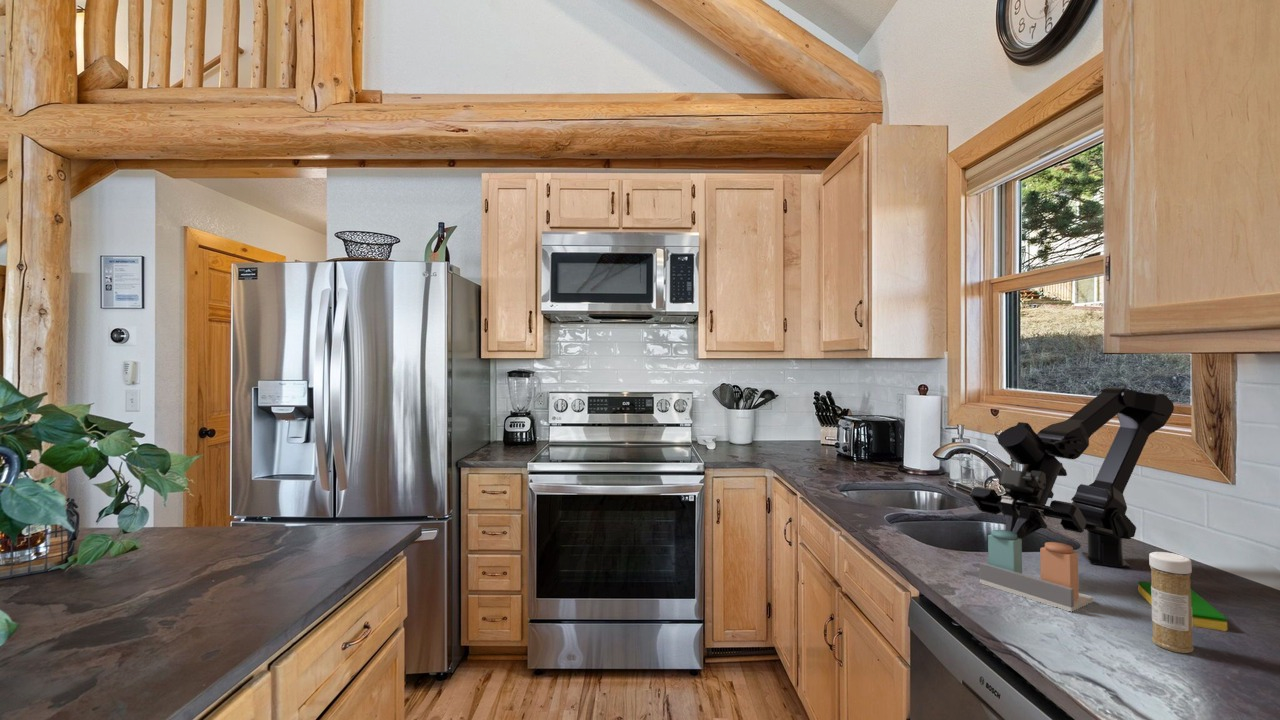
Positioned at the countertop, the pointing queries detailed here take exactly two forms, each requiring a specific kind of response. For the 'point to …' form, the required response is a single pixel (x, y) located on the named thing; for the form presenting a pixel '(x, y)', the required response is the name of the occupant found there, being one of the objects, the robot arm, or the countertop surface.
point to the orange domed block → (1060, 565)
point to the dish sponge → (1194, 609)
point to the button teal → (1005, 550)
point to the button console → (1032, 587)
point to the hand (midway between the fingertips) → (1009, 543)
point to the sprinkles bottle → (1171, 601)
